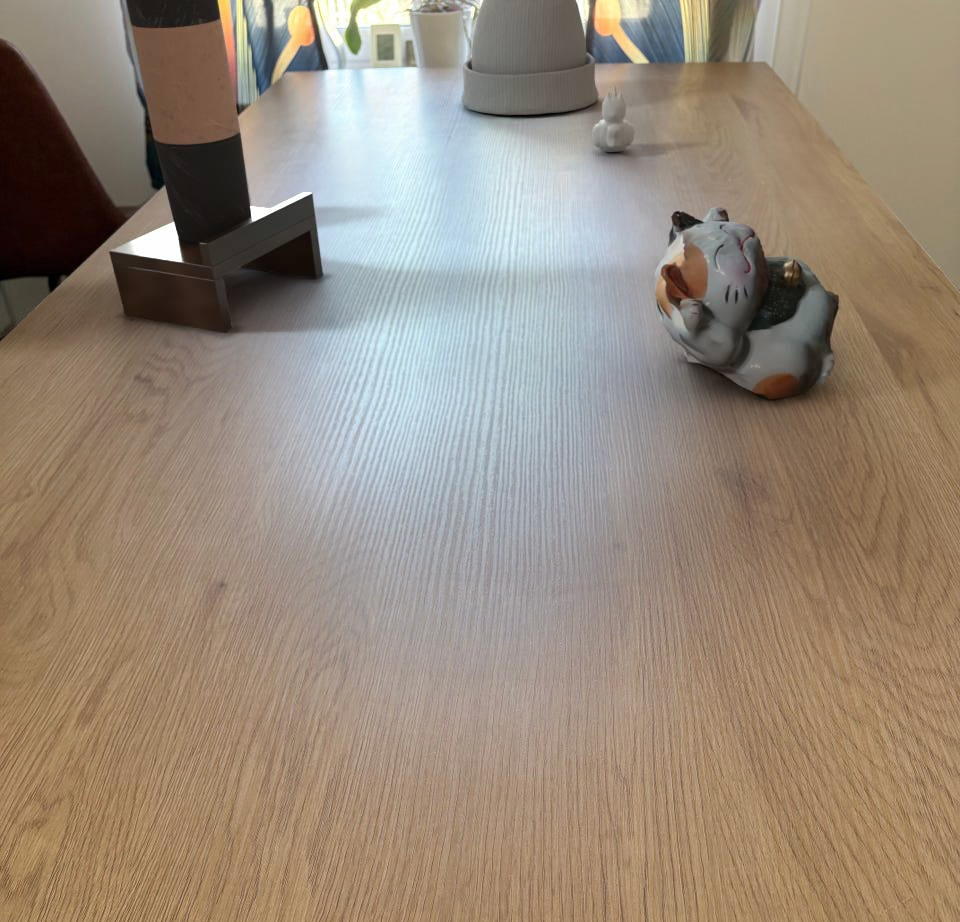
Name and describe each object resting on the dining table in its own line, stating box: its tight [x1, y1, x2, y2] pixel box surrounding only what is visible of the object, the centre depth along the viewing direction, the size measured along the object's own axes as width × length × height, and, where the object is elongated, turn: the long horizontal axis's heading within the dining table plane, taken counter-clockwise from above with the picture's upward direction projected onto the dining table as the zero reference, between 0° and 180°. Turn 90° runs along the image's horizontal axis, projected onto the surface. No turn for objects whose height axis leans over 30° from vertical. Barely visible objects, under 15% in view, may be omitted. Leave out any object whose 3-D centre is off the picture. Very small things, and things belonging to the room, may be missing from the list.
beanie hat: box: [460, 0, 599, 116], centre depth 163 cm, size 21×21×20 cm
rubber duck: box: [591, 83, 635, 153], centre depth 139 cm, size 5×7×8 cm
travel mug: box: [125, 0, 252, 244], centre depth 96 cm, size 8×8×20 cm
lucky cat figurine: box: [653, 206, 840, 401], centre depth 84 cm, size 15×12×14 cm
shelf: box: [108, 191, 324, 334], centre depth 103 cm, size 12×16×8 cm
